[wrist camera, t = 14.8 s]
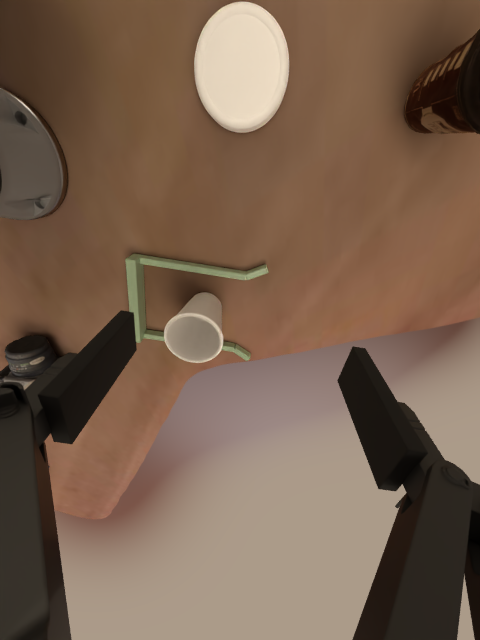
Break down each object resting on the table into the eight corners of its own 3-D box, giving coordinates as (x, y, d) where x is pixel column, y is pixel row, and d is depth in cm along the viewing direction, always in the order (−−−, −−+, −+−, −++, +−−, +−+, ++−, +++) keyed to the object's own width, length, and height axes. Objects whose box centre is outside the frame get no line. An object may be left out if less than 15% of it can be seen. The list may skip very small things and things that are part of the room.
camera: (84, 335, 49) (46, 370, 41) (96, 376, 55) (65, 415, 46) (3, 328, 50) (-50, 362, 41) (23, 370, 55) (-22, 407, 46)
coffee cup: (464, 139, 31) (580, 120, 20) (391, 153, 32) (462, 144, 21) (484, 39, 27) (646, -56, 16) (399, 60, 28) (493, -14, 17)
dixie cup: (174, 313, 46) (154, 346, 37) (194, 275, 42) (178, 302, 33) (215, 335, 48) (206, 372, 39) (238, 300, 44) (234, 332, 35)
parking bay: (139, 339, 49) (132, 349, 47) (132, 242, 40) (124, 247, 37) (249, 356, 50) (249, 366, 47) (268, 264, 40) (269, 270, 38)
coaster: (202, 133, 33) (196, 129, 30) (196, 18, 28) (188, -1, 25) (282, 133, 32) (285, 129, 29) (291, 16, 27) (295, -4, 24)
